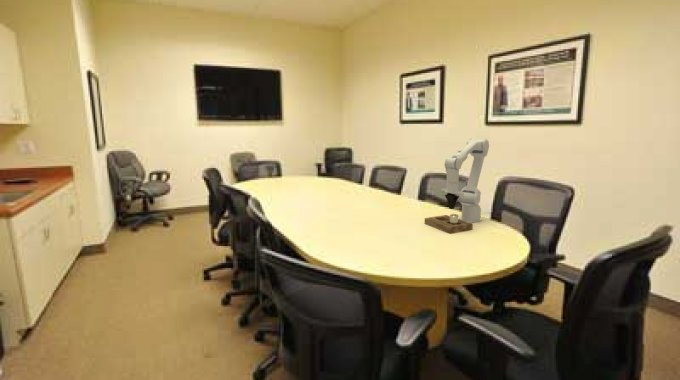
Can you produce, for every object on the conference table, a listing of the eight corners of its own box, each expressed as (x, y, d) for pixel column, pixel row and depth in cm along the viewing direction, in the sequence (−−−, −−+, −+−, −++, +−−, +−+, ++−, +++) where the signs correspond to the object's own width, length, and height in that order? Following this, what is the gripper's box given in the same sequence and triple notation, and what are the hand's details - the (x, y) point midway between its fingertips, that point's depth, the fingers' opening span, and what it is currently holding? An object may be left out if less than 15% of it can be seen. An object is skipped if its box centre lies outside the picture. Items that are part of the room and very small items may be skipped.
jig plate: (446, 220, 203) (446, 214, 203) (472, 229, 185) (472, 223, 185) (424, 223, 198) (424, 218, 197) (449, 233, 180) (449, 227, 179)
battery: (454, 227, 190) (454, 213, 189) (459, 229, 186) (460, 215, 185) (447, 228, 188) (448, 214, 187) (453, 230, 185) (453, 216, 183)
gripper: (436, 180, 191) (436, 206, 193) (456, 184, 178) (455, 212, 180) (447, 179, 194) (447, 205, 196) (467, 183, 181) (466, 210, 183)
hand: (451, 208), depth 188 cm, fingers closed
